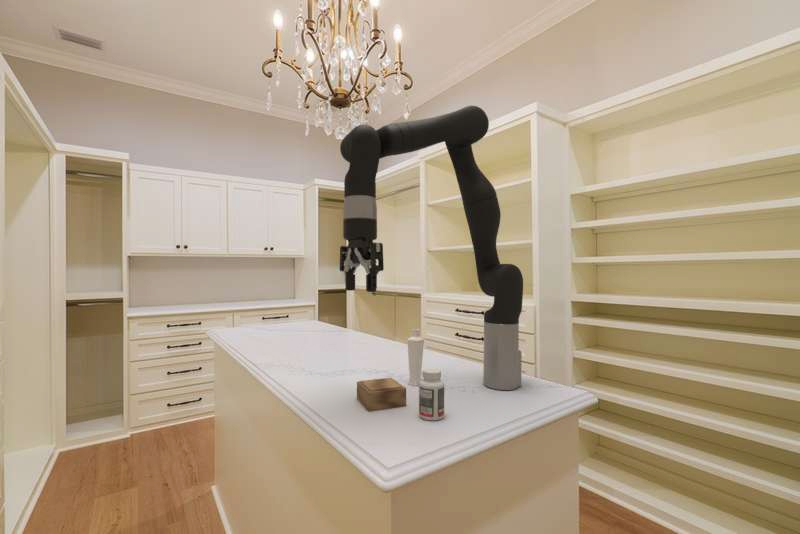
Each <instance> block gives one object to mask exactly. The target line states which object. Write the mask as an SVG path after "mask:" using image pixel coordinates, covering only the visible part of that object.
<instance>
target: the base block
mask: <svg viewBox="0 0 800 534" xmlns="http://www.w3.org/2000/svg"><path fill="white" fill-rule="evenodd" d="M356 400H358V401H359V403H360V404H361V405H362V406H363V407H364V408H365V409H366V410H367V411H368V412H373V411H380V410H386V409H388V410H389V409H394V408H395V409H396V408H402V407H406V406H407V388H406V387H405V386H404V385H402V384H401V383H399V382H398V381H397V380H395V379H394V378H392V377H385V378H375V379H374V378H373V379H366V380H360V381H357V382H356Z"/></svg>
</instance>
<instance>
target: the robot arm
mask: <svg viewBox="0 0 800 534" xmlns="http://www.w3.org/2000/svg"><path fill="white" fill-rule="evenodd" d="M489 125H490V121H489V118H488V115H487V113H486V112H485V111H484V110H483V108H480V107H479V106H477V105H467V106H463V107H462V108H459V109H457V110H455V111H451V112H449V113H445V114H440V115H437V116H433V117H428V118H422V119H415V120H409V121H403V122H402V121H401V122H396V123H388V124H386V125H383V126H382V127H380V128H378V129H375V128H374V127H373V126H372V125H369V124H359V125H357V126H355V127H353V128H352V129H351V130H350V132H349V133H348V134H346V135H345V136H344V137H343V139H342V140H341V143H340V146H339V148H340V150H339V151H340V154H341V156H342V158H343V159H344V160H345V161H346V162H347V163H349V167H348V171H347V172H346V174H345V176H344V181H343V182H344V184H343V185H344V186H343V187H344V190H343V191H344V193H343V194H344V196H343V198H344V199H343V209H342V217H343V218H342V219H343V220H342V221H343V225H342V226H343V227H342V234H343V236H342V238H343V239H344V240H345V241H347V242H348V243H347V245H341V246H340V247H339V271H340V272H343V274H344V276H345V291H355V290H356V274H355V273H356V271H357V269H358V267H360V265H361V267H363V269H364V270H365V273H366V274H365V291H366V292H368V293H375V292H376V291H377V288H378V284H377V283H378V282H377V280H378V274H379V272H383V271H384V269H385V268H384V265H385V264H384V248H383V247H384V245H383V243H382V242H374V241H375V240H377V238H378V208H377V207H378V206H377V199H376V197H377V189H376V188H377V187H376V185H377V184H376V183H377V182H376V180H377V179H376V178H377V174H378V169H379V164H380V159H383V158H386V157H391V156H398V155H404V154H408V153H409V154H410V153H412V152H417V151H420V150H422V149H426V148H428V147H432V146H434V145H437V144H441V143H444V145H445V147H446V149H447V152H448V155H449V157H450V161H451V163H452V166H453V169H454V173H455V177H456V181H457V184H458V188H459V192H460V196H461V201H462V205H463V211H464V213H465V217H466V221H467V222H466V223H467V226H468V230H469V234H470V238H471V243H472V248H473V252H474V258H475V266H476V267H475V268H476V275H477V281H478V284H479V288H480V289H481V291H482V292H483V293H484V294H485V295H487V296H488V297H493V304H492V307H491V308H489V309H487V310H485V311H484V312H483V375H482V377H483V379H482V380H483V385H484V386H485V387H487V388H490V389H494V390H500V391H513V390H516V389H518V388H519V387H522V358H523V357H522V351H521V350H519V348H520V345H519V344H520V342H519V337H520V335H519V334H520V333H519V332H520V331H519V330H520V329H519V328H520V326H519V325H520V323H519V322H520V316H521V314H522V311H523V300H524V299H523V297H524V277H523V273H522V271H521V270H520V269H521V268H519V267H518V266H517V265H515V264H512V263H501V262H500V258H499V254H498V251H497V237H498V234H499V229H500V223H501V216H502V215H501V208H500V204H499V199H498V195H497V191H496V189H495V187H494V185H493V184H492V183H491V182H490V180H489V179H488V178H487V177H486V176H485V174H484V173H483V172H482V171H481V170H480V168H479V166H478V165H477V162H476V160H475V156H474V151H473V147H472V145H473V144H476V143H477V142H479V141H481V140H482V139H484V137H485V136H486V134H487V133H488V130H489ZM377 261H378V263H377Z"/></svg>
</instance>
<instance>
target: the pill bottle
mask: <svg viewBox="0 0 800 534" xmlns="http://www.w3.org/2000/svg"><path fill="white" fill-rule="evenodd" d="M421 377H422V378H421V381H420V382H419V385H418V416H419V417H420V419H423V420H425V421H440V420H442V419H443V418H444V417H445V382H444V381H443V380H442V379H441V378H442V370H441V369H440V368H435V367H427V368H423V369H422V370H421Z"/></svg>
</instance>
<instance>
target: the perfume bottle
mask: <svg viewBox="0 0 800 534" xmlns="http://www.w3.org/2000/svg"><path fill="white" fill-rule="evenodd" d="M411 330H412V331H411V336H410V337H409V338H407V351H408V352H407V354H408V355H407V356H408V371H409V372H408V373H409V375H408V377H409V378H408V384H407V385H410V386H415V387H417V386H419V382H420V381H421V380H422V371H423V369H422V368H423V356H424V345H425V339H424V338H423V337H421V336H420V329H419V328H411Z"/></svg>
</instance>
